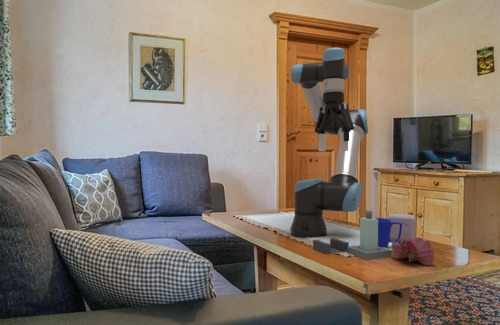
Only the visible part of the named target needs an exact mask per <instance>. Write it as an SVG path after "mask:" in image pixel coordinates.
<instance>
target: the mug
mask: <svg viewBox="0 0 500 325" xmlns="http://www.w3.org/2000/svg"><path fill="white" fill-rule="evenodd" d="M374 218H375V219H378V246H379V247H382V248H387V249H388V246H389V244H390V243H391V244H392V243H393V242H396V243H397V241H398V240H399V239H400V237H401V231H402V223H400V222H391V220H389V219H387V218H384V217H374ZM393 224H399V225H400V230H399V236H398V239H397V240H396V241H394V240H390V231H391V226H392V225H393Z"/></svg>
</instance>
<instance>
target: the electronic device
mask: <svg viewBox="0 0 500 325" xmlns="http://www.w3.org/2000/svg"><path fill="white" fill-rule="evenodd" d="M386 219H389V220H391V222H400V223H402V231H401V237H400V238H405V239H406V240H407V239H416V217H415V216H414V215H413V214H401V213H390V214H389V215H387V217H386ZM399 230H400V225H399V224H393V225H392V226H391V231H390V241H396V240H397V239H398V236H399Z"/></svg>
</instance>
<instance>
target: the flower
mask: <svg viewBox="0 0 500 325" xmlns="http://www.w3.org/2000/svg"><path fill="white" fill-rule="evenodd" d="M391 250H392V253H393V255H394V256H396V257H398V258H402V259H407V260H408V262H409V263H411V262H413V261H414V262H415V261H416V260H418V262H419V264H422V265H425V266H430V265H432V264H433V262H434V260H435V250H434V249H433V248H432V243H431V242H430V241H429V240H428V239H425V238H424V237H420V236H418V237H415V239H407V240H406V239H405V238H400V239H399V240H398V241H397V243H396V242H393V243H391Z"/></svg>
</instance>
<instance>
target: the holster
mask: <svg viewBox="0 0 500 325" xmlns="http://www.w3.org/2000/svg"><path fill="white" fill-rule="evenodd" d="M348 246H350V245H349V242H348V241H345V240H341V239H339V238H335V237H333V238H330V239H329V243H328V242H325V241H322V240H320V239H313V240H312V249H313V250H316V251H318V252H320V253H322V254H323V253H324V254H325V255H332V254H340V253H347V247H348Z"/></svg>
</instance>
